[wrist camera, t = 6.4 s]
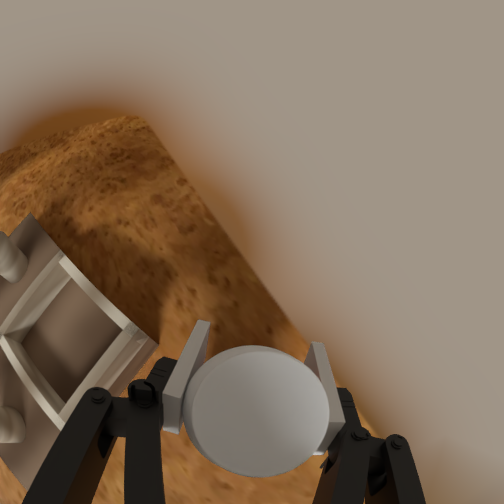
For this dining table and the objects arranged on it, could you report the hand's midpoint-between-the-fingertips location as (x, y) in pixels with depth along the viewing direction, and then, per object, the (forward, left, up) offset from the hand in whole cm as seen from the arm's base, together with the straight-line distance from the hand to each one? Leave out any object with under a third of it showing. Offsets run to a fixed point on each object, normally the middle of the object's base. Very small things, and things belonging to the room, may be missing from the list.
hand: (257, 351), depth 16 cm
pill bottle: (+1, -3, -4) cm, 5 cm away
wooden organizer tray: (-17, -13, -5) cm, 22 cm away
